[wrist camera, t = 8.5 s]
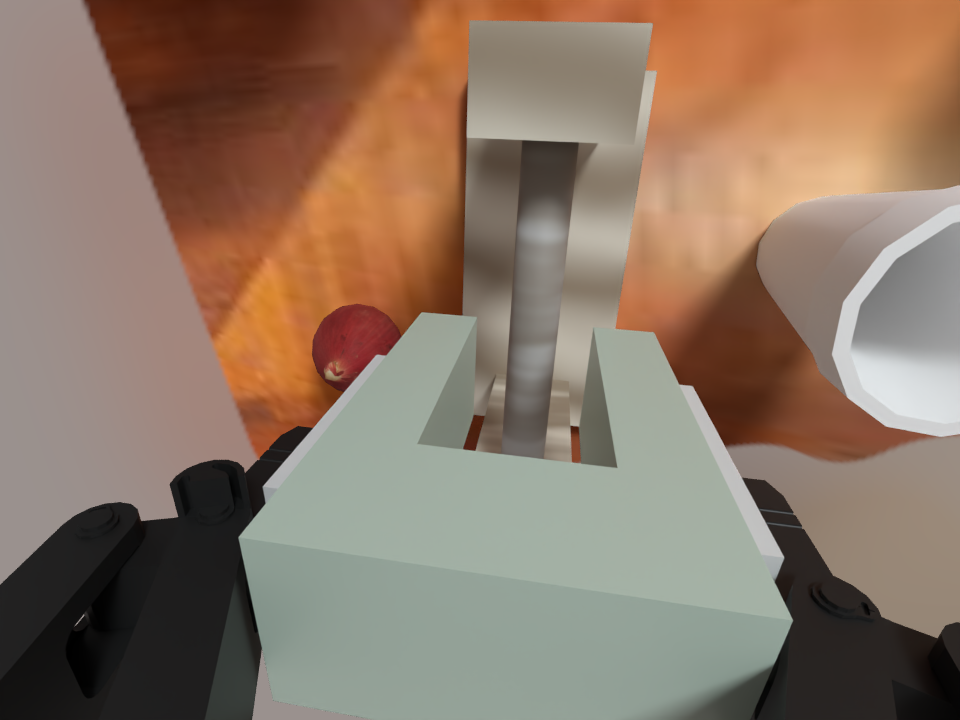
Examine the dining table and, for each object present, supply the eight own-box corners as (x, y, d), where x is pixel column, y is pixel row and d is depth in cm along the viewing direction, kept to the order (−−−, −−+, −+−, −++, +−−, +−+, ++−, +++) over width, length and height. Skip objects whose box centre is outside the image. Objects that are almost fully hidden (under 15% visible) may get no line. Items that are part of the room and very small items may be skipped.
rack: (473, 69, 28) (382, -3, 14) (652, 74, 27) (755, 1, 13) (463, 403, 38) (403, 569, 23) (597, 417, 36) (621, 602, 22)
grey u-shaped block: (421, 312, 18) (238, 537, 8) (653, 332, 17) (793, 620, 7) (422, 410, 19) (272, 700, 9) (633, 433, 18) (721, 786, 8)
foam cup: (792, 140, 28) (965, 142, 16) (942, 205, 28) (1223, 254, 16) (699, 292, 32) (781, 382, 20) (830, 347, 32) (988, 469, 20)
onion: (430, 321, 35) (397, 368, 28) (393, 379, 38) (353, 436, 30) (360, 275, 35) (307, 311, 27) (327, 337, 37) (270, 386, 30)
